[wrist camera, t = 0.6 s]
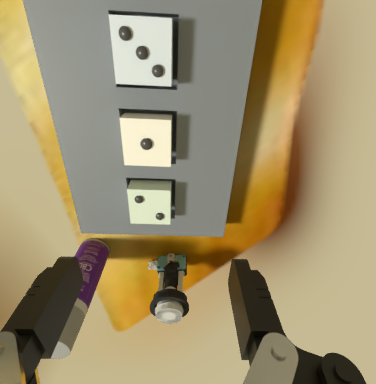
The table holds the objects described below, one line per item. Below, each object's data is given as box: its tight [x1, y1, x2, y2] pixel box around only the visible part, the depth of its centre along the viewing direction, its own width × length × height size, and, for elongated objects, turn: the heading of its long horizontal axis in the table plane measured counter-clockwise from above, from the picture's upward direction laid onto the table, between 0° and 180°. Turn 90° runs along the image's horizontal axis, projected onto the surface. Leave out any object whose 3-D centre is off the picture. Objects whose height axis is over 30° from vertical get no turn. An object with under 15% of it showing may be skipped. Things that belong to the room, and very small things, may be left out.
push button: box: [148, 253, 189, 324], centre depth 35 cm, size 7×5×10 cm
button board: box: [23, 0, 262, 237], centre depth 26 cm, size 28×20×3 cm
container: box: [51, 238, 110, 359], centre depth 31 cm, size 5×5×15 cm
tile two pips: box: [127, 180, 172, 225], centre depth 29 cm, size 5×5×3 cm
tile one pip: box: [120, 113, 172, 167], centre depth 25 cm, size 5×5×3 cm
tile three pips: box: [109, 14, 173, 87], centre depth 20 cm, size 5×5×3 cm
